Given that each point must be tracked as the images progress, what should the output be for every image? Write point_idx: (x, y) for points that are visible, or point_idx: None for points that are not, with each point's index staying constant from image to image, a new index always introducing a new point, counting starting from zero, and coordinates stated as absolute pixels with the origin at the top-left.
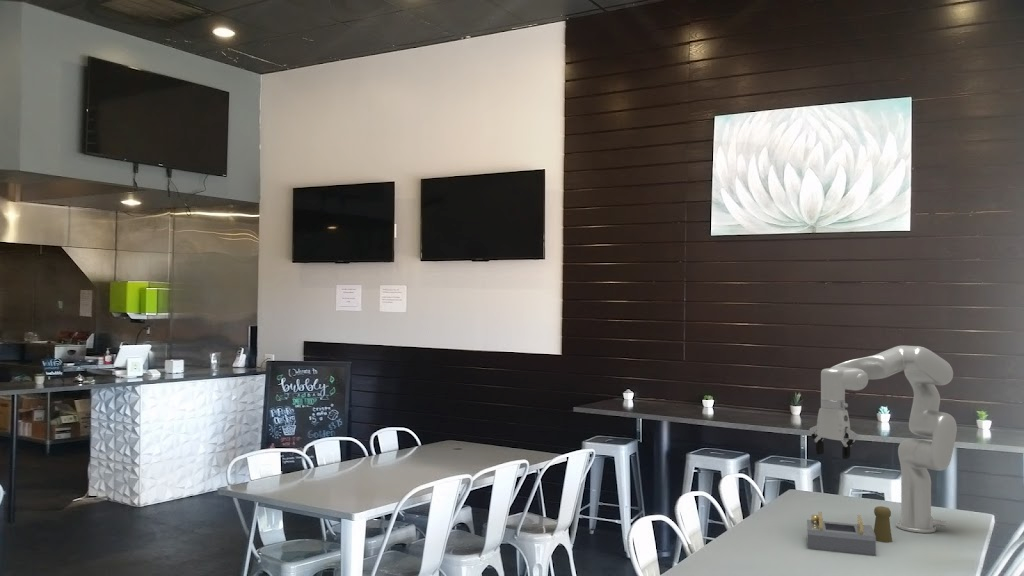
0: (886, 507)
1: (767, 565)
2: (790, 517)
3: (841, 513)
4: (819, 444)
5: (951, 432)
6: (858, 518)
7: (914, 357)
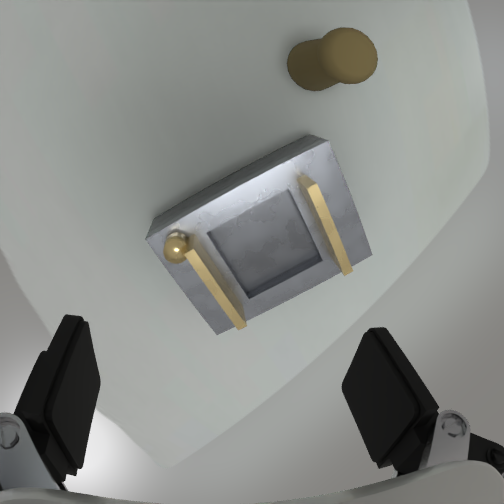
0: (367, 46)
1: (227, 420)
2: (11, 59)
3: None
4: (80, 452)
5: None
6: (327, 234)
7: None
